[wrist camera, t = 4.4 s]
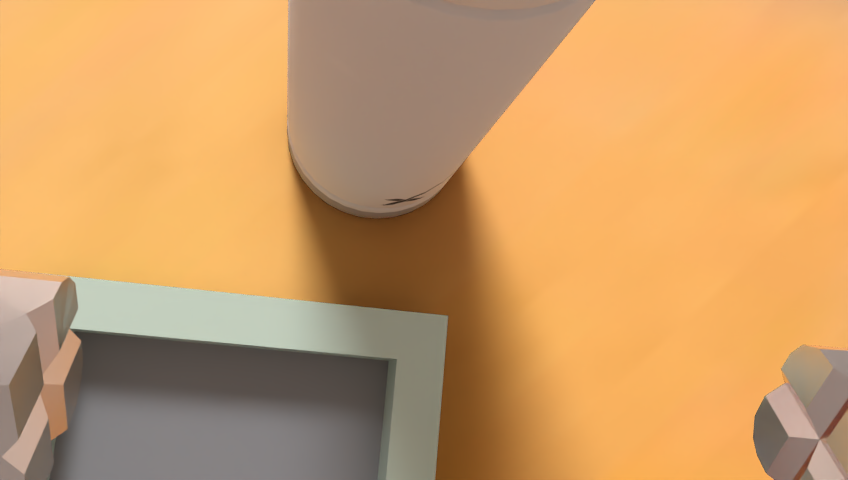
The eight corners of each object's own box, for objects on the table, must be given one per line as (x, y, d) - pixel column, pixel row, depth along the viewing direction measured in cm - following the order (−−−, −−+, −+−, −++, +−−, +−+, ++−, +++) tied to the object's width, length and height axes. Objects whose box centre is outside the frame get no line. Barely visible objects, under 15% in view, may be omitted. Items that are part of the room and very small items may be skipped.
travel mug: (432, 250, 28) (762, -44, 9) (259, 179, 27) (198, -305, 8) (489, 98, 29) (882, -444, 10) (326, 28, 29) (410, -695, 9)
